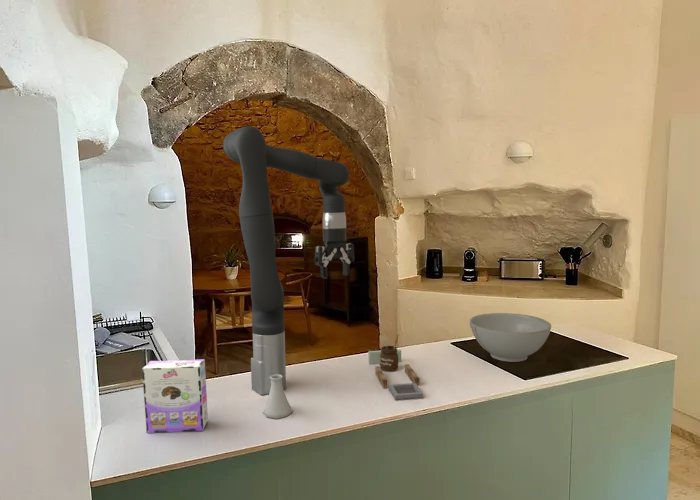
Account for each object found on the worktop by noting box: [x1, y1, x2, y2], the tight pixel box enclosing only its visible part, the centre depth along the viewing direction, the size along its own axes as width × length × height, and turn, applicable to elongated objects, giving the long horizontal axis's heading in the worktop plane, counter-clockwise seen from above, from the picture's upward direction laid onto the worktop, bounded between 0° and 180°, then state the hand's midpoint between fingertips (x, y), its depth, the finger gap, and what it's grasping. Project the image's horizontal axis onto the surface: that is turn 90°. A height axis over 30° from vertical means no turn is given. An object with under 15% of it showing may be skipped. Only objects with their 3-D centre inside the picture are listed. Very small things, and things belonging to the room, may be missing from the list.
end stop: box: [367, 348, 402, 365], centre depth 170 cm, size 2×11×4 cm, turn 98°
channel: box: [374, 363, 420, 389], centre depth 155 cm, size 12×11×2 cm
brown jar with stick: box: [379, 333, 400, 373], centre depth 164 cm, size 6×6×12 cm
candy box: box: [141, 358, 209, 434], centre depth 124 cm, size 14×6×16 cm, turn 92°
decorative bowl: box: [469, 312, 552, 363], centre depth 175 cm, size 27×27×12 cm
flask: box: [262, 374, 293, 420], centre depth 132 cm, size 7×7×10 cm
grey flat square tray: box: [388, 382, 424, 401], centre depth 144 cm, size 8×8×1 cm
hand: (335, 276), depth 163 cm, fingers open, 8 cm apart
